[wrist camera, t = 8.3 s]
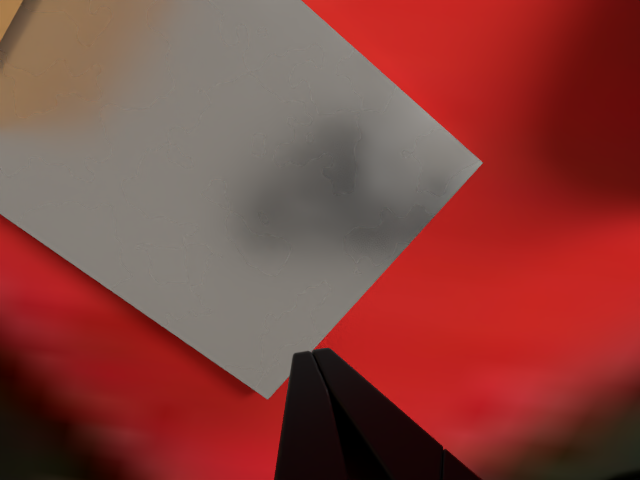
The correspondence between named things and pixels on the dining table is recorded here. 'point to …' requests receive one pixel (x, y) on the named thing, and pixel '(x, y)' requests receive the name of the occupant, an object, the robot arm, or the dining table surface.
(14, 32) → the baseplate
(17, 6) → the tan chunky block
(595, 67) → the dining table surface
